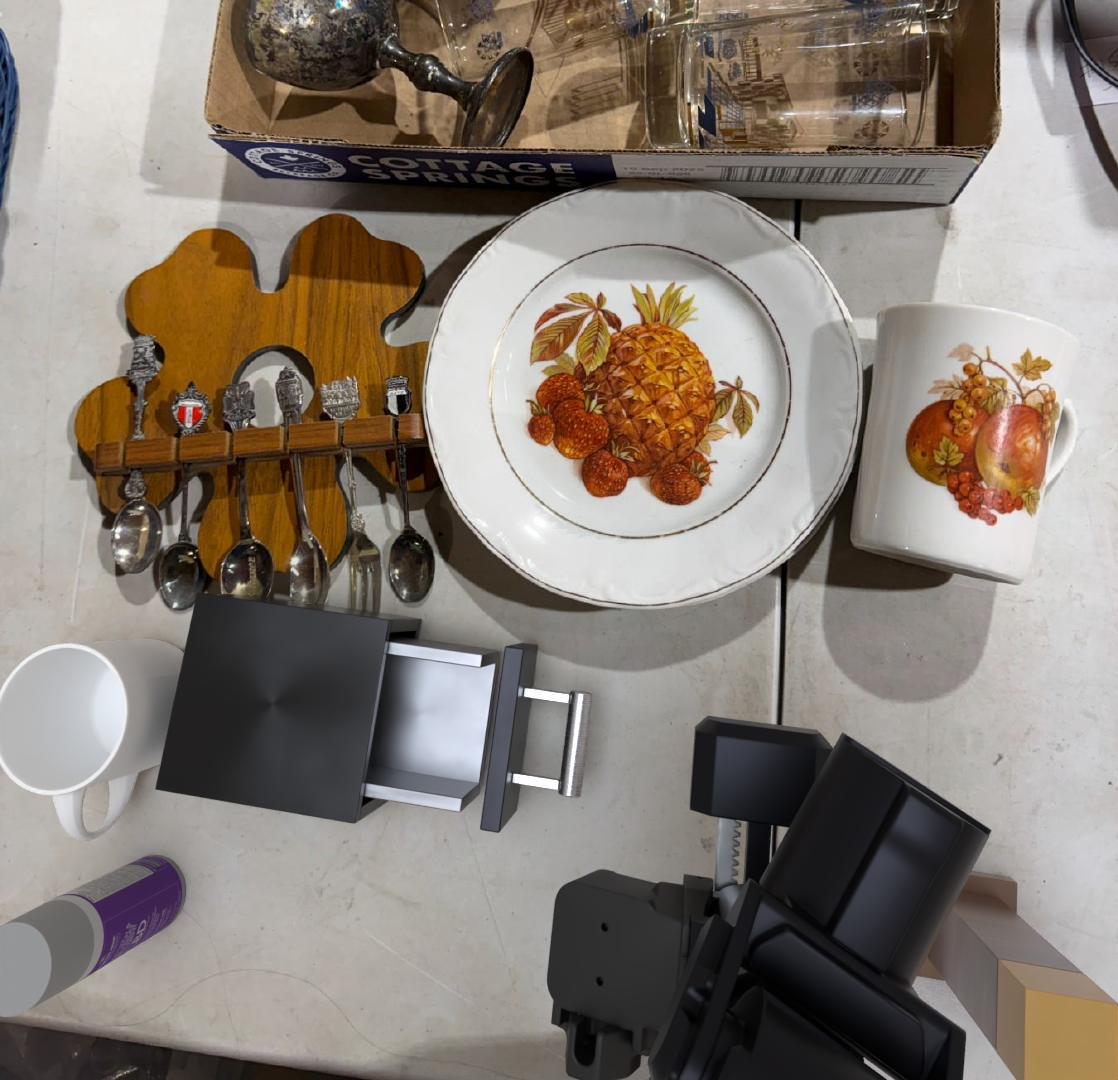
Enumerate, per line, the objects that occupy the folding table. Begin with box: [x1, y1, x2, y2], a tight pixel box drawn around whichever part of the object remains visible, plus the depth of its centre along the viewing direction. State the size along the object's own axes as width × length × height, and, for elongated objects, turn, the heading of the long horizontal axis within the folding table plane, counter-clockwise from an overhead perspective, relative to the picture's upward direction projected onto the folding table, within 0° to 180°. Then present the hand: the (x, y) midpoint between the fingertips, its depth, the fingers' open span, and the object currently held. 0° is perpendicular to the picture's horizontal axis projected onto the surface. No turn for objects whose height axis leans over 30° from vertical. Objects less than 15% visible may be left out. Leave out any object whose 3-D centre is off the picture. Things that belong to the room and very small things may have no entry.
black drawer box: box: [154, 592, 423, 825], centre depth 66 cm, size 13×12×9 cm
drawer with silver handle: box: [363, 635, 594, 834], centre depth 64 cm, size 16×10×7 cm, turn 83°
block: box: [995, 959, 1118, 1080], centre depth 46 cm, size 4×4×4 cm
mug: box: [0, 638, 184, 842], centre depth 65 cm, size 9×12×11 cm
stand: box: [917, 870, 1085, 1052], centre depth 55 cm, size 6×6×14 cm
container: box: [0, 854, 187, 1018], centre depth 60 cm, size 5×5×15 cm
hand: (738, 898), depth 52 cm, fingers open, 9 cm apart
